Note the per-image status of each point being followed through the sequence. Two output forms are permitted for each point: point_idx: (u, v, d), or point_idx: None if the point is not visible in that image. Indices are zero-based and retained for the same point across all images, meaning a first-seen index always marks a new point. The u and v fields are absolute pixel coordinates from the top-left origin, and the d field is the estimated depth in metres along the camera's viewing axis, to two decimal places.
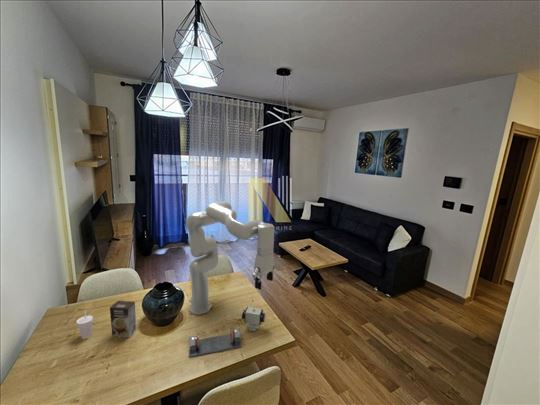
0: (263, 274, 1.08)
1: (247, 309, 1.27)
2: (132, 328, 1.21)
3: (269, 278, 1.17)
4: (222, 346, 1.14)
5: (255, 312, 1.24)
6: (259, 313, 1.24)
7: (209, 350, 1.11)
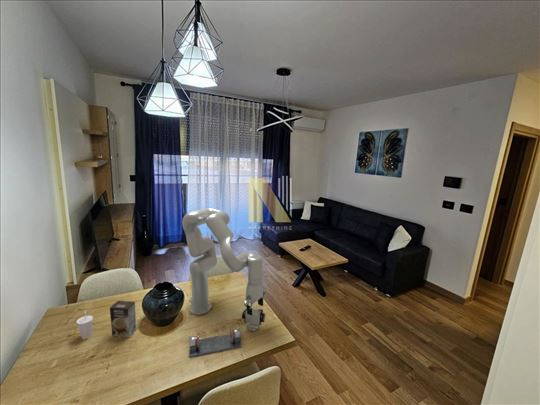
0: (253, 301, 1.20)
1: None
2: (132, 328, 1.21)
3: (260, 303, 1.29)
4: (222, 346, 1.14)
5: (255, 312, 1.24)
6: (259, 313, 1.24)
7: (209, 350, 1.11)
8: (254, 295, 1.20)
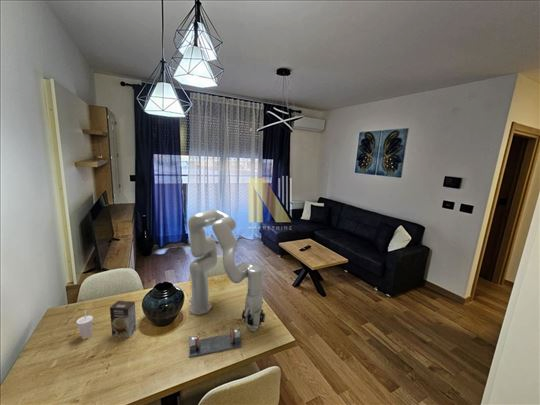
0: (252, 312, 1.22)
1: None
2: (132, 328, 1.21)
3: None
4: (222, 346, 1.14)
5: (255, 312, 1.24)
6: (259, 313, 1.24)
7: (209, 350, 1.11)
8: (253, 306, 1.21)
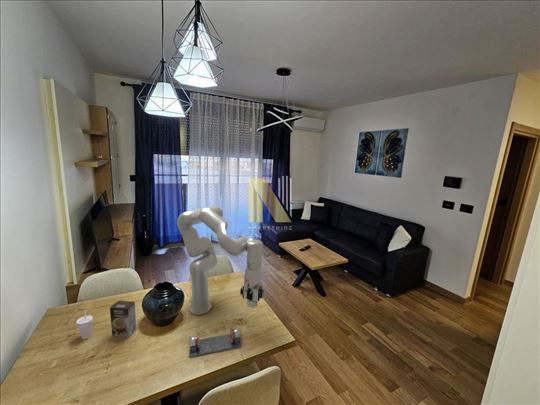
0: (252, 286, 1.19)
1: None
2: (132, 328, 1.21)
3: None
4: (222, 346, 1.14)
5: (254, 288, 1.22)
6: (257, 289, 1.21)
7: (209, 350, 1.11)
8: (253, 280, 1.18)
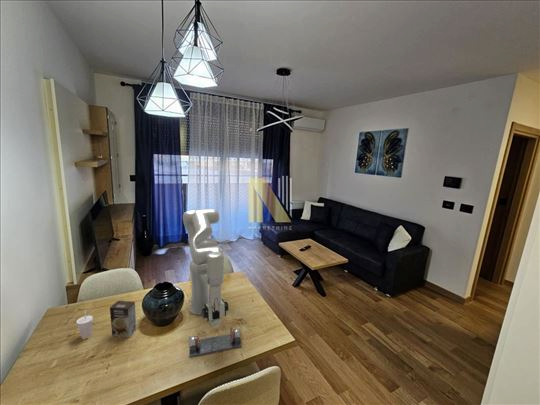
0: (220, 302, 1.08)
1: (207, 305, 1.10)
2: (132, 328, 1.21)
3: None
4: (222, 346, 1.14)
5: None
6: (223, 303, 1.12)
7: (209, 350, 1.11)
8: (220, 295, 1.08)
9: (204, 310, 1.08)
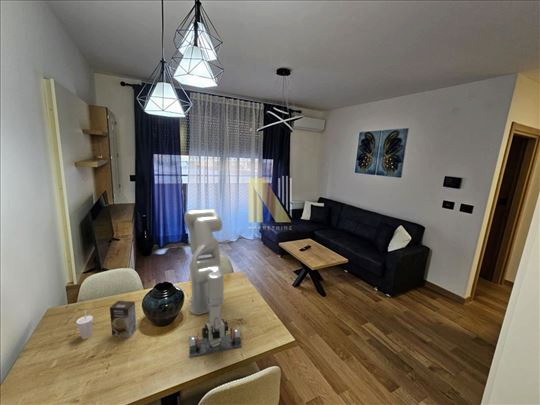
0: (220, 322, 1.10)
1: (207, 326, 1.12)
2: (132, 328, 1.21)
3: None
4: (222, 346, 1.14)
5: None
6: (223, 323, 1.14)
7: (209, 350, 1.11)
8: (220, 315, 1.10)
9: (204, 330, 1.10)
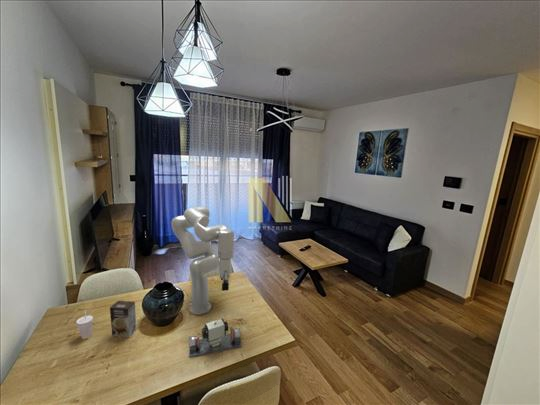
0: (229, 275, 1.18)
1: (207, 326, 1.12)
2: (132, 328, 1.21)
3: (224, 278, 1.26)
4: (222, 346, 1.14)
5: (218, 324, 1.13)
6: (223, 323, 1.14)
7: (209, 350, 1.11)
8: None
9: (204, 330, 1.10)
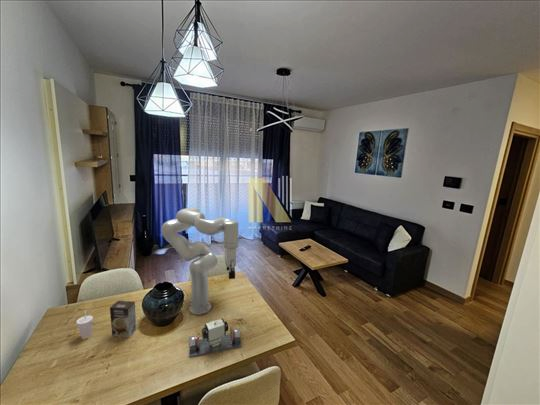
0: (235, 264, 1.24)
1: (207, 326, 1.12)
2: (132, 328, 1.21)
3: None
4: (222, 346, 1.14)
5: (218, 324, 1.13)
6: (223, 323, 1.14)
7: (209, 350, 1.11)
8: None
9: (204, 330, 1.10)
